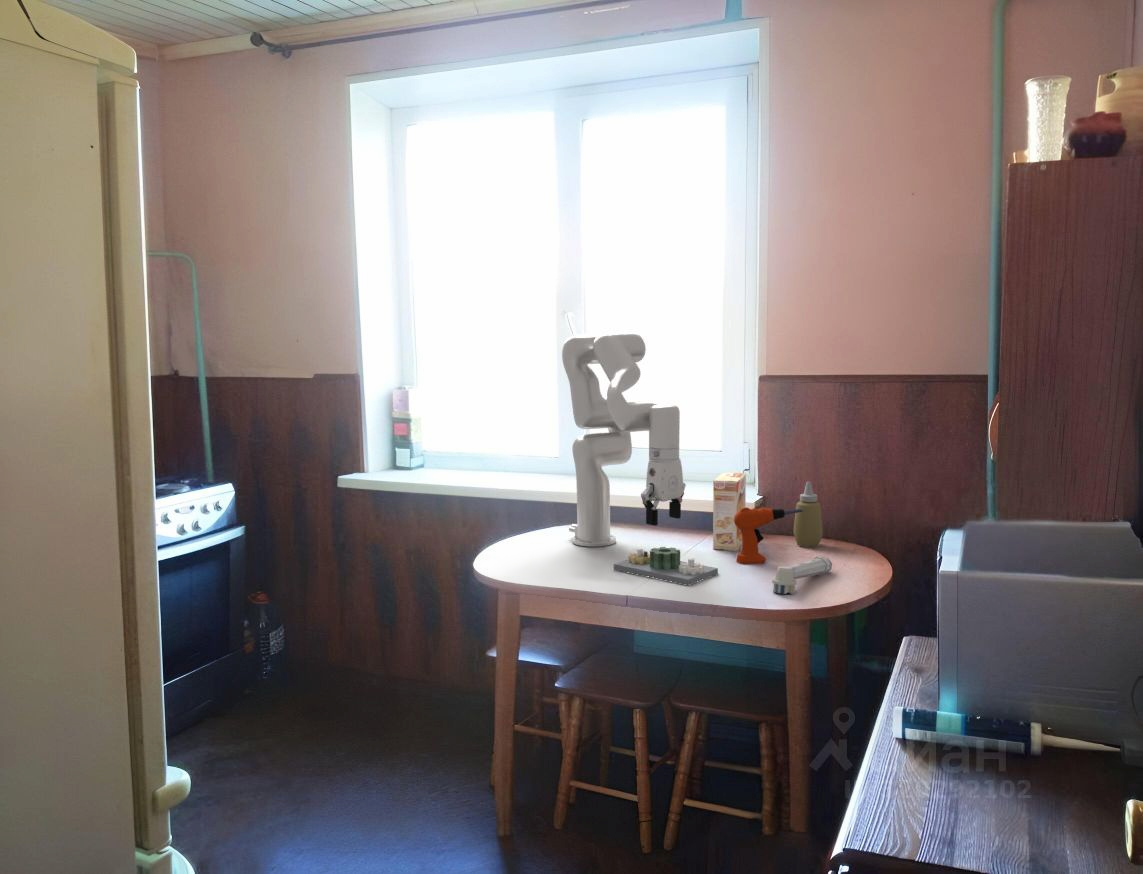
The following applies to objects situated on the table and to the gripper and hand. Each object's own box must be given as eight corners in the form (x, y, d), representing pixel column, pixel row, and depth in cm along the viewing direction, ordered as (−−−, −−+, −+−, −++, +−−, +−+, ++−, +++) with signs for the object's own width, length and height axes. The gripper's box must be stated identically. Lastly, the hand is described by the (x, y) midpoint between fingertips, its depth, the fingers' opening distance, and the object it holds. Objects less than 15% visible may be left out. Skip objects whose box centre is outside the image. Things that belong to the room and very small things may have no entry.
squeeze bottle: (791, 547, 247) (791, 483, 244) (795, 541, 254) (795, 479, 252) (821, 549, 243) (821, 485, 241) (824, 543, 251) (825, 480, 249)
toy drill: (810, 557, 230) (804, 501, 228) (739, 567, 230) (731, 511, 228) (805, 552, 235) (798, 497, 233) (735, 562, 235) (728, 507, 233)
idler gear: (668, 571, 219) (668, 555, 218) (644, 566, 224) (644, 551, 223) (685, 565, 224) (685, 549, 224) (661, 560, 229) (661, 545, 229)
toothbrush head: (835, 558, 220) (790, 565, 201) (833, 584, 220) (788, 595, 201) (815, 554, 224) (769, 562, 204) (813, 581, 224) (767, 591, 204)
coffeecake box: (737, 551, 244) (737, 481, 241) (712, 549, 246) (711, 480, 244) (746, 539, 258) (746, 472, 255) (722, 537, 260) (722, 471, 258)
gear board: (613, 569, 227) (613, 552, 227) (644, 559, 237) (644, 543, 236) (688, 585, 212) (687, 567, 211) (717, 574, 221) (717, 556, 221)
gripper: (655, 460, 212) (654, 530, 214) (696, 451, 225) (695, 517, 227) (630, 457, 217) (630, 525, 219) (672, 448, 230) (671, 513, 232)
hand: (663, 521), depth 223 cm, fingers open, 9 cm apart
